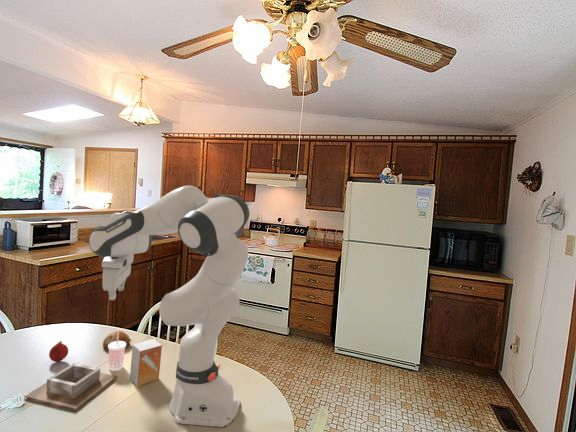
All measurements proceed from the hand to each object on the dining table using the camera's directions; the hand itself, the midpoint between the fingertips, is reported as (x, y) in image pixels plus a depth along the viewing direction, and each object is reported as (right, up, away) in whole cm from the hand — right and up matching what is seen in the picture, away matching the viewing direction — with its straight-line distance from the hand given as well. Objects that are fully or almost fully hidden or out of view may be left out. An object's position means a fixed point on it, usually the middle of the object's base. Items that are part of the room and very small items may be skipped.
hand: (116, 294), depth 116 cm
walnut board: (-10, -29, -9) cm, 32 cm away
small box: (+10, -31, 0) cm, 32 cm away
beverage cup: (-3, -29, +6) cm, 30 cm away
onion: (-25, -27, +5) cm, 37 cm away
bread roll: (-11, -27, +21) cm, 36 cm away
